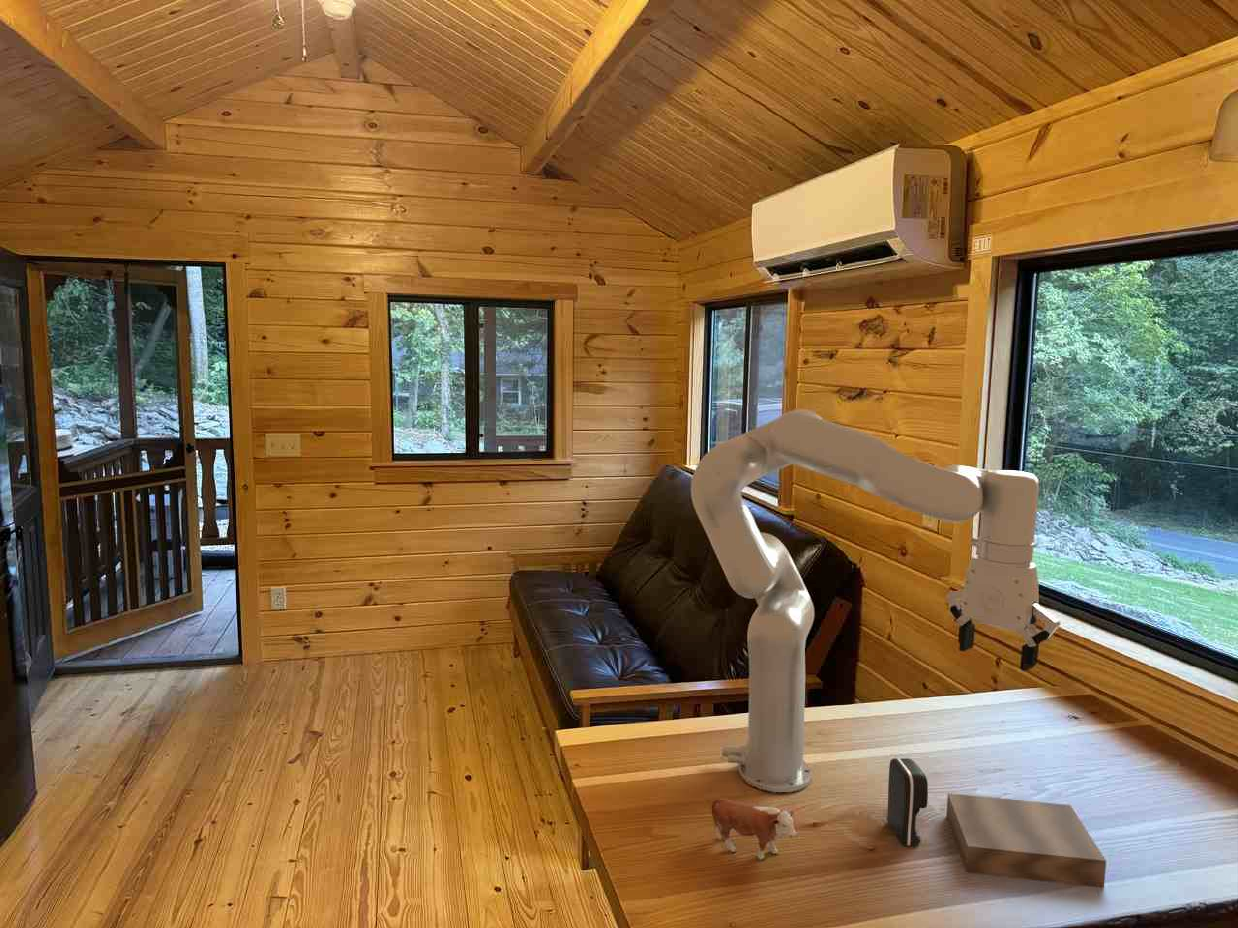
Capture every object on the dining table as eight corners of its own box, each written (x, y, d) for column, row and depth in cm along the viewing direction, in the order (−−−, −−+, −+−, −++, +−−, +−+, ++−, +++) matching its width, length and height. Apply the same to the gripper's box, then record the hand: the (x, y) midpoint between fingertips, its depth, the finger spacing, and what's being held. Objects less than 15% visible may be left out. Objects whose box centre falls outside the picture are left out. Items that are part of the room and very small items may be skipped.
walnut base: (966, 871, 116) (968, 845, 115) (946, 816, 129) (947, 793, 129) (1103, 887, 112) (1106, 860, 112) (1068, 828, 126) (1070, 804, 125)
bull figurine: (792, 875, 115) (793, 822, 114) (706, 845, 122) (707, 795, 121) (802, 859, 119) (804, 807, 117) (719, 830, 126) (719, 781, 125)
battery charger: (928, 847, 121) (932, 776, 120) (903, 848, 121) (907, 777, 120) (909, 820, 128) (912, 752, 127) (885, 821, 128) (888, 753, 126)
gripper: (939, 543, 128) (931, 647, 130) (1052, 568, 114) (1041, 683, 117) (963, 537, 132) (956, 637, 135) (1075, 560, 119) (1064, 670, 121)
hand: (995, 658), depth 126 cm, fingers open, 9 cm apart
